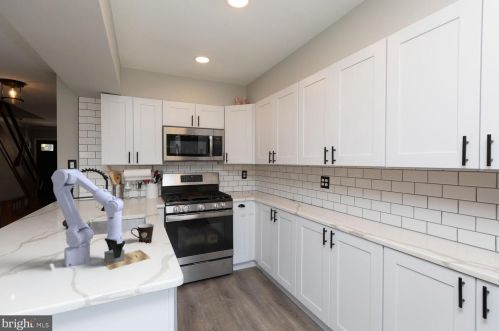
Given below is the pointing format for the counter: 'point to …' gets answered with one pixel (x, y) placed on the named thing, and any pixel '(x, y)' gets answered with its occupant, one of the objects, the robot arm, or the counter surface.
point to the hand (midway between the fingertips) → (114, 255)
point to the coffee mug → (145, 232)
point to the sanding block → (112, 258)
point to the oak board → (129, 259)
